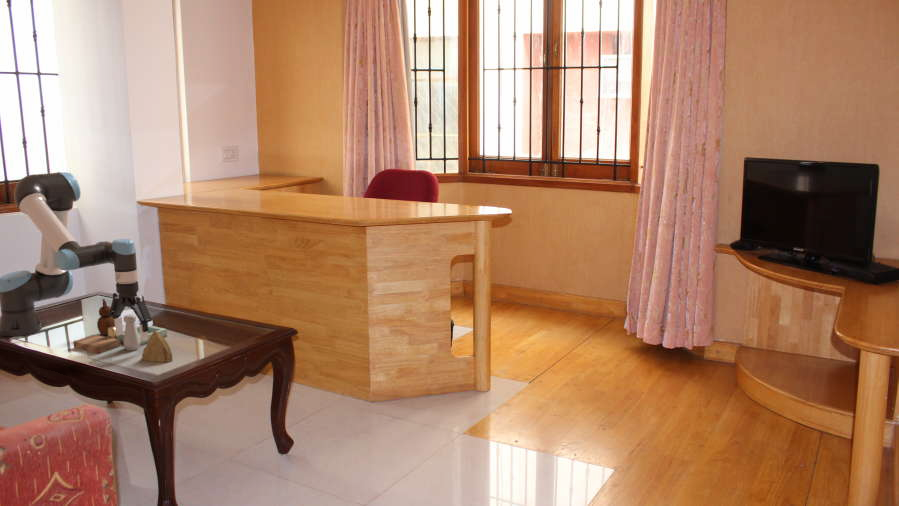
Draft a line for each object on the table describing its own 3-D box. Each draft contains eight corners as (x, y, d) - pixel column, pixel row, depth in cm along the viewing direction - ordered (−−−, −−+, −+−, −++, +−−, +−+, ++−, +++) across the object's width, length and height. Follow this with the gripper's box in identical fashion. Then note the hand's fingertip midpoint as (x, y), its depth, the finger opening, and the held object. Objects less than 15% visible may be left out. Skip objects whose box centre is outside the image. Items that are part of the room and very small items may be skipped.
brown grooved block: (74, 349, 283) (73, 341, 282) (94, 342, 291) (93, 334, 290) (100, 354, 277) (100, 346, 276) (120, 347, 285) (120, 339, 284)
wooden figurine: (108, 337, 295) (105, 300, 292) (95, 336, 296) (92, 299, 293) (119, 332, 301) (116, 295, 298) (106, 331, 303) (103, 294, 300)
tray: (116, 340, 291) (115, 333, 291) (144, 331, 302) (143, 324, 302) (139, 345, 285) (138, 338, 285) (167, 336, 296) (166, 329, 296)
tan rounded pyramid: (181, 353, 270) (170, 343, 277) (166, 339, 265) (155, 328, 272) (157, 376, 267) (146, 364, 274) (141, 361, 261) (131, 350, 268)
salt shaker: (136, 345, 286) (133, 312, 283) (144, 348, 282) (141, 314, 280) (121, 349, 282) (118, 315, 279) (129, 352, 278) (126, 318, 275)
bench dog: (107, 343, 288) (105, 328, 287) (114, 341, 290) (112, 326, 289) (112, 344, 286) (111, 329, 285) (119, 342, 289) (117, 327, 288)
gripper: (95, 280, 279) (100, 335, 284) (141, 287, 268) (146, 345, 272) (112, 275, 286) (118, 330, 290) (159, 283, 274) (163, 339, 278)
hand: (132, 337), depth 281 cm, fingers open, 13 cm apart
